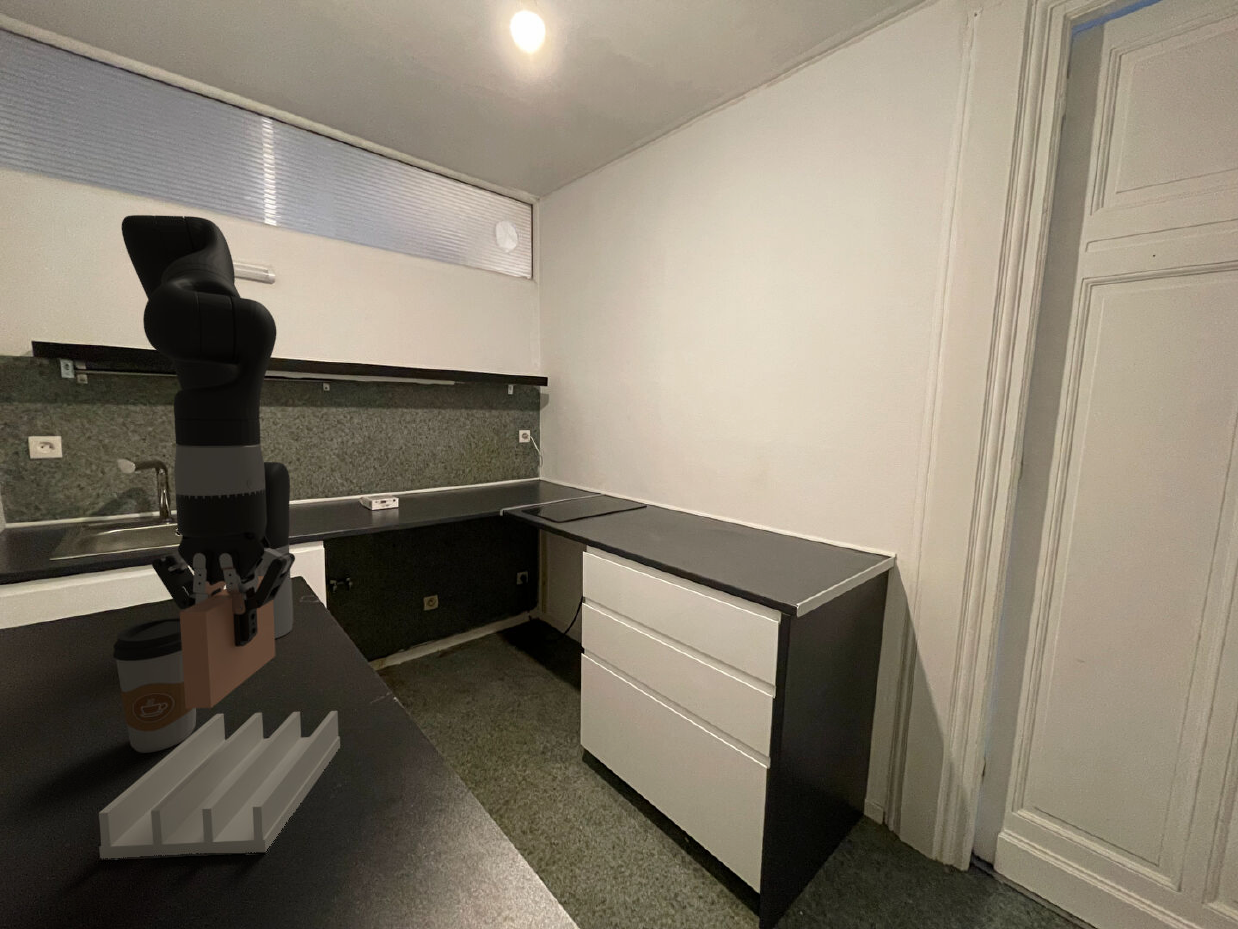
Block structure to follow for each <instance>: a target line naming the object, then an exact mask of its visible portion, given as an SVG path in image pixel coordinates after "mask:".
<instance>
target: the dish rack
mask: <svg viewBox="0 0 1238 929" xmlns="http://www.w3.org/2000/svg"><path fill="white" fill-rule="evenodd" d="M338 712H339V711H338V710H331V711H329V713H328V714H327V715H326V717H325V718H324V719H323V720H322V721H321V723H320V724H319V725H318V727H317V728H316V729H315V730H314V731H313V733H312V734H311V735H310V736H308V737H307V736H306V737H302V731H301V730H302V729H301V727H302V726H301V724H302V723H301V711H293V712H292V713H291V714H290V715H289V716H288V717H287V718H286V719H285V720H284V721H283V723H281V724H280V725H279V727H278V728H277V729H276V730H275V731H274V732H273V733H272V734H271V735H270V736H269V738H264V726H263V712H255V713H253V714H252V715H251V716H250V718H248V719H247V720H246V721H245V722H244V723H243V724H242V725H241V726H240V727H239V728H238V729H236V731H234V733H232V734H231V735H230V736H229V737H228V738H227V739H226V737H225V736H226V735H225V731H226V730H225V718H224V716H225V714H224V713H216V714H214V715H213V716H212V717H211V718H210V719H209V720H207V721H206V722H205V723H204V724H203V725H202V726H200V727H199V728H198V729H197V730H196V731H194V732H192V733H191V735H190V736H189V737H188V738H186V739H185V740H183V741H182V742H181V743H179V745H178V746H177V747H175V748H174V749H173V750H172V751H171V752H169V754H167V755H166V756H165V757H163V759H161V760H160V761H158V763H156V764H155V765H154V766H153V767H152V768H150V769H149V770H148V771H147V772H146V773H144V774H143V775H141V777H140V778H138V779H137V780H136V781H135V782H134V783H132V785H130V786H129V787H128V788H126V790H124V791H123V792H122V793H121V794H119V796H117V797H115V799H113V801H112V802H110V803H109V804H108V805H106V806H105V807H104V808H103V809H101V811H99V812H98V821H99V830H100V831H99V832H100V845H99V848H98V849H99V859H100V858H102V859H103V858H104V859H105V858H108V859H109V858H110V859H111V858H123V857H124V858H125V857H126V858H127V857H140V856H154V855H155V856H156V855H157V856H158V855H162V856H163V855H164V856H165V855H178V854H179V855H180V854H189V853H190V854H191V853H192V854H196V853H199V854H200V853H202V854H203V853H246V852H247V853H248V852H249V853H250V852H252V853H254V852H255V853H256V852H266V851H267V849H268V848H269V846H271V847H272V845H273V844H274V842H275V841H276V840H275V839H277V838H278V837H279V835H280V834H281V833H282V831H283V830H282V828H283V829H284V828H285V827H286V825H287V824H286V822H287V823H288V822H289V821H290V820H289V818H290V817H291V816H292V817H293V816H294V814H295V812H296V811H297V810H298V808H299V807H300V805H301V804H302V803H303V801H304V800H305V798H306V797H307V795H308V794H309V792H310V791H311V790H312V788H313V787H314V786H315V784H316V782H317V781H318V780H319V778H320V777H321V776H322V774H323V773H324V771H325V770H324V769H326V768H327V767H328V765H329V764H330V763H329V762H331V761H332V760H333V758H334V757H335V755H336V754H337V753H338V751H339V750H340V748H341V736H339V718H338V716H339V713H338ZM338 749H339V750H338ZM336 752H337V753H336ZM300 803H301V804H300ZM296 809H297V810H296ZM293 813H294V814H293ZM292 817H291V818H292ZM291 818H290V819H291ZM288 820H289V821H288ZM285 824H286V825H285ZM284 826H285V827H284ZM281 830H282V831H281ZM279 833H280V834H279ZM278 834H279V835H278ZM277 836H278V837H277ZM276 837H277V838H276ZM274 840H275V841H274ZM273 841H274V842H273ZM272 843H273V844H272ZM271 844H272V845H271ZM269 849H270V848H269ZM269 849H268V850H269ZM267 852H268V851H267ZM267 852H266V853H267Z"/></svg>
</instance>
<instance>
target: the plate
mask: <svg viewBox="0 0 1238 929" xmlns="http://www.w3.org/2000/svg"><path fill="white" fill-rule="evenodd" d="M263 577H264V576H258V578H259V582H258V584H257V589H258V587H259V585H260V583H261V581H262V579H263ZM234 614H236V613H235V612H234V610H233V605H232V598H231V595H230V594H228V593H227V590H226V588H224V590H223V591H221V592H219V593H217V594H215V595H213V596H211V597H209V598H207V599H205V600H203V601H201V602H199V603H197V604H195V605H193V606H191V607H189V608H186V609H182V610H181V611H179V617H180V625H181V641H182V657H183V674H184V690H185V706H186V708H196V709H212V708H213V707H214V706H215V705H217V704H218V703H219V702H220V701H222V700H223V699H224V698H225V697H227V696H228V695H229V694H231V693H232V692H233V691H234V690H235V689H236V688H238V687H239V686H240V685H242V684H243V683H244V682H245V681H246V680H247V679H249V678H250V677H251V676H253V675H254V674H255V673H257V671H258V670H259V671H260V669H261V668H262V667H264V666H265V665H266V664H267V663H269V661H271V660H272V659H273V658H275V657H276V640H275V639H276V638H275V634H274V611H273V600H272V601H270V602H268V603H267V604H265V605H264V606H262V607H260V608H257V628H258V631H257V634H256V636H254V637H253V639H252V640H251V641H250V642H249V643H247V644H246V645H245V646H242V647H236V646H235V636H234V616H233V615H234Z"/></svg>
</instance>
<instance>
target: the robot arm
mask: <svg viewBox="0 0 1238 929" xmlns="http://www.w3.org/2000/svg"><path fill="white" fill-rule="evenodd" d="M121 235H122V238H123V243H124V246H125V248H126V251H127V254H128V257H129V259H130V262H131V263H132V266H133V268H134V271H135V273H136V275H137V278H138V279H139V282H140V284H141V287H142V289H143V291H144V293H145V295H146V298H147V299H148V300H147V302H146V304H145V307H144V311H143V319H142V320H143V330H144V333H145V336H146V339H147V341H148V342H149V345H151V346H152V348H154V350H156V352H158V353H159V354H160V355H163V356H164V357H167V358H169V359H170V360H171V361H172V364H173V368H174V372H175V374H176V378H177V381H178V383H179V386H180V390H178V391H177V392H176V393H175V395H174V398H173V415H174V420H173V421H174V432H175V457H174V464H173V466H174V467H173V473H174V474H173V475H174V491H175V494H174V495H175V505H176V506H175V507H176V508H175V510H176V523H177V525H176V527H177V532H178V534H179V535H180V536H182V537H181V541H180V543H179V545H178V547H177V550H176V551H174V552H172V553H170V554H166V555H163V556H160V557H159V558H156V559H154V560H153V561H152V562H151V565H152V566H151V567H152V569H153V570H154V572H155V573H156V574H157V576H158V578H159V579H160V581H161V582H162V584H163V586H164V587H165V588H166V590H167V592H168V594H169V595H170V596H171V598H172V600H173V601H174V602H175V605H176V606H177V607H178V608H179V610H185V609H187V608H189V607H191V606H193V605H195V604H197V603H199V602H201V601H203V600H205V599H207V598H209V597H211V596H213V595H215V594H217V593H219V592H221V591H223V590H225V589H226V590H227V593H228V594H230V595H231V598H232V605H233V610H234V612H235V613H236V614H234V615H233V616H234V636H235V646H236V647H242V646H245V645H246V644H247V643H249V642H250V641H251V640H252V639H253V637H254V636H256V634H257V631H258V628H257V608H260V607H262V606H264V605H265V604H267V603H268V602H270V601H272V600H273V611H274V634H275V639H278V638H281V637H283V636H285V635H287V634H288V633H290V632H291V631H292V629H293V624H294V603H293V602H294V601H293V600H294V598H293V579H292V578H291V569H292V566H293V565H294V562H295V561H296V556H295V554H294V553H291V552H290V500H291V499H290V496H291V494H290V491H291V479H290V475H289V470H288V468H287V466H286V465H285V464H284V463H282V462H276V461H275V462H273V461H264V456H263V451H262V444H261V421H260V419H261V417H260V416H261V415H260V414H261V413H260V408H261V407H260V406H261V398H262V389H263V386H264V380H265V376H266V373H267V369H268V366H269V363H270V361H271V358H272V354H273V352H274V348H275V344H276V340H277V325H276V324H277V323H276V321H275V319H274V317H273V314H272V313H271V312H270V310H269V309H268V308H267V307H266V306H265V305H264V304H263V303H261V302H259V301H257V300H254V299H250V298H245V297H244V298H243V297H241V295H240V293H239V291H238V289H237V287H236V285H235V281H236V280H235V267H234V262H233V258H232V254H231V250H230V247H229V245H228V244H229V243H228V241H227V239H226V237H225V234H224V233H223V231H222V230H221V229H220V227H219V226H218V225H217V224H216V223H215V222H213V221H212V220H210V219H207V218H205V217H204V218H203V217H199V216H192V215H191V216H188V215H184V216H183V215H160V214H159V215H153V214H151V215H150V214H148V215H147V214H145V215H144V214H132V215H127V216H125V217H123V219H122V222H121ZM258 576H264V577H263V579H262V581H261V583H260V585H259V587H258V589H257V584H258V582H259V578H258Z"/></svg>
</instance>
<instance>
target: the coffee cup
mask: <svg viewBox="0 0 1238 929" xmlns="http://www.w3.org/2000/svg"><path fill="white" fill-rule="evenodd" d="M113 649H114V650H113V653H112V656H113V658H114V659H115V662H116V667H117V672H118V674H117V675H118V679H119V684H120V689H119V690H120V696H121V697H120V698H121V702H122V706H123V707H122V708H123V714H124V720H125V723H126V725H127V726H126V727H127V730H128V732H127V733H128V737H129V738H128V739H129V742H130V743H129V745H130V746H131V748H133V749H134V750H135V751H136V752H137V753H154V752H158V751H162V750H165V749H169V748H171V747H174V746H177V745H178V744H181V743H183V742H184V741H185V740H186V739H187V738H189V737H190V736H191V735H192V734H193V733H194V729H195V727H196V726H197V725H196V722H197V708H186V706H185V690H184V674H183V657H182V641H181V625H180V616H176V617H175V616H174V617H165V618H157V619H153V620H149V621H144V622H142V623H139V624H135V625H132V626H130V627H128V628H126V629H123V630H122V631H120V632H119V634H118V635H117V639H116V642H115V643H114V645H113Z"/></svg>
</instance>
